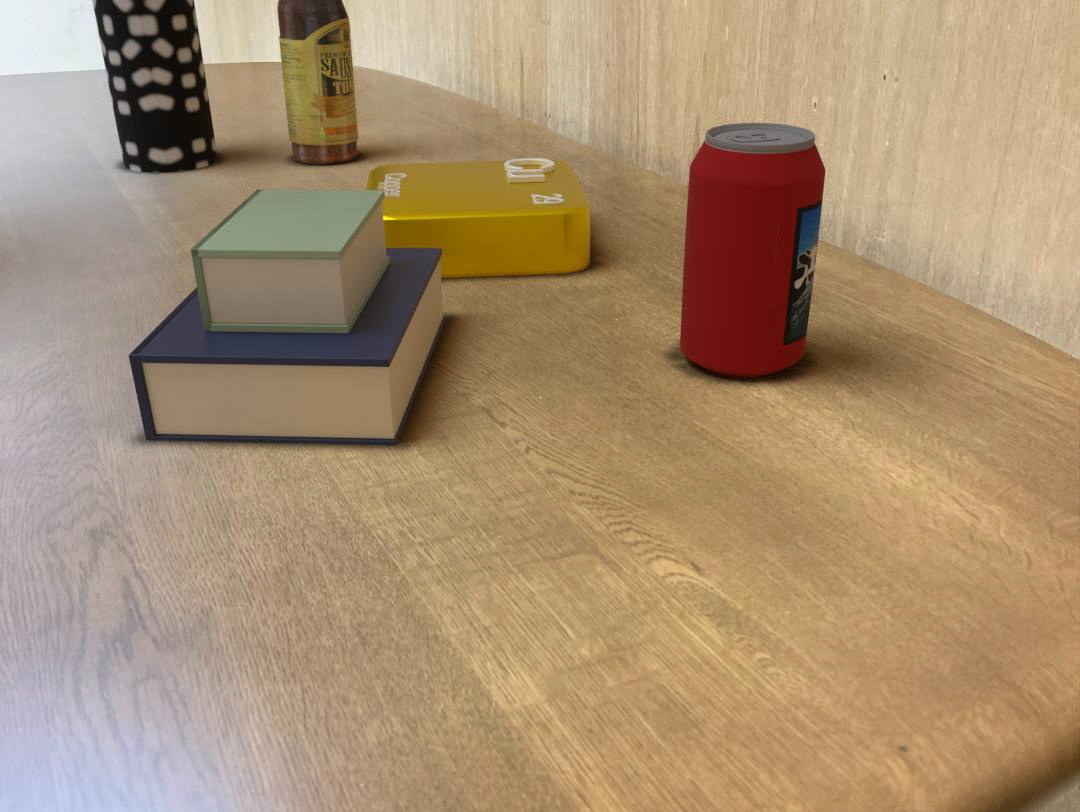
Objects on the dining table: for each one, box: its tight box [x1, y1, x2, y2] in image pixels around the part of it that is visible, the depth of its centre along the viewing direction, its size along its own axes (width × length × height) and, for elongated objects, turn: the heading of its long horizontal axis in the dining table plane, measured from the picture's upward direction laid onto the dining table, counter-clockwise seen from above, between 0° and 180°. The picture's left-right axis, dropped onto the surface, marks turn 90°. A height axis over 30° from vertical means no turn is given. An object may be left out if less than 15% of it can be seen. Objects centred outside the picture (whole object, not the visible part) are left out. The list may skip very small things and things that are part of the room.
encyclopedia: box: [128, 248, 447, 446], centre depth 60 cm, size 12×17×4 cm
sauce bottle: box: [276, 0, 359, 166], centre depth 100 cm, size 6×6×20 cm
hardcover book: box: [190, 189, 390, 334], centre depth 58 cm, size 11×7×4 cm, turn 176°
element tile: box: [365, 157, 592, 279], centre depth 80 cm, size 15×15×5 cm
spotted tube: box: [91, 0, 219, 174], centre depth 100 cm, size 8×8×20 cm
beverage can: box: [679, 122, 826, 378], centre depth 59 cm, size 7×7×12 cm
